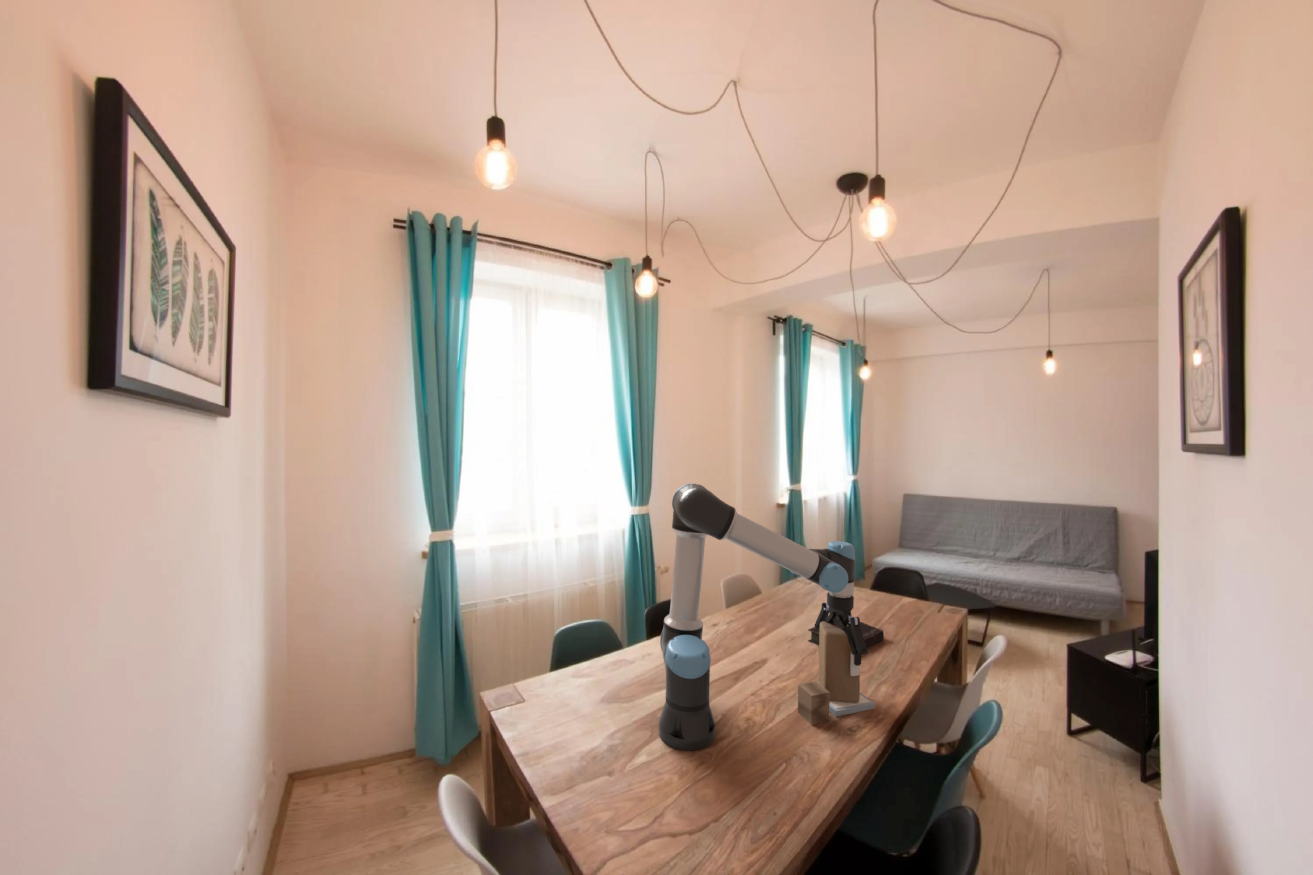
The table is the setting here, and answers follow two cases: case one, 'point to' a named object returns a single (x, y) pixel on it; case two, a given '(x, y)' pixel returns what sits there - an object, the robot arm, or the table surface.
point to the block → (836, 664)
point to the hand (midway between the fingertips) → (838, 663)
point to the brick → (813, 702)
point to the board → (850, 706)
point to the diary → (869, 633)
